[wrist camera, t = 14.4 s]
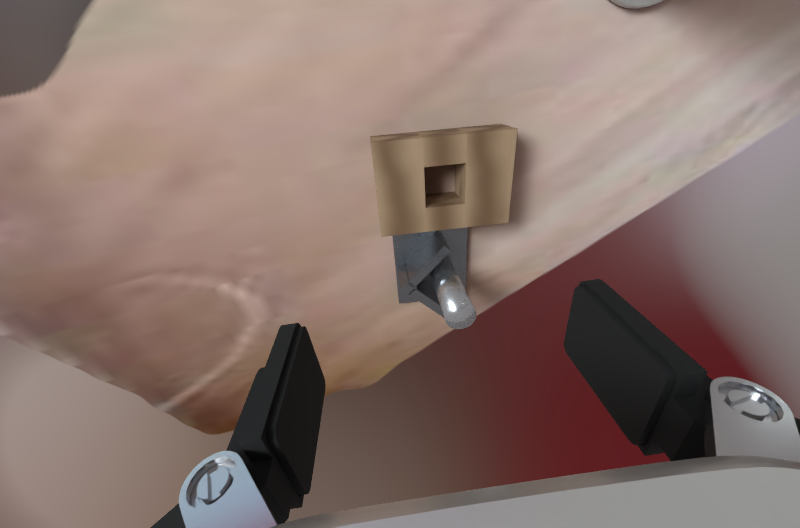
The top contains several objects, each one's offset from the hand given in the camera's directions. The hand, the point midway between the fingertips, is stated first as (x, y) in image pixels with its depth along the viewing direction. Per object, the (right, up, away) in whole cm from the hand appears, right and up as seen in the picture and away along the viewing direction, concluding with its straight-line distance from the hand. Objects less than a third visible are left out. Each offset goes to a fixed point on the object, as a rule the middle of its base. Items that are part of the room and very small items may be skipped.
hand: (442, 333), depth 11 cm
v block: (+3, +3, +36) cm, 37 cm away
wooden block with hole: (+3, +14, +30) cm, 33 cm away
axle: (+4, +2, +36) cm, 36 cm away
